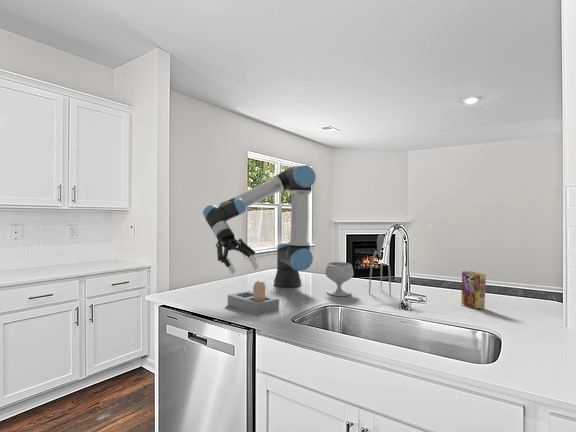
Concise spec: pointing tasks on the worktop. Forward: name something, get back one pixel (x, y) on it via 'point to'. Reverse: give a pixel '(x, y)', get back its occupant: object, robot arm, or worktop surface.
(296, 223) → the robot arm
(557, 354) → the worktop surface
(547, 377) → the worktop surface
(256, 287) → the peach dome-topped cylinder
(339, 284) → the chalice
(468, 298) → the candy box
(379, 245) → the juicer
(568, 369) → the worktop surface
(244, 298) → the divided tray
